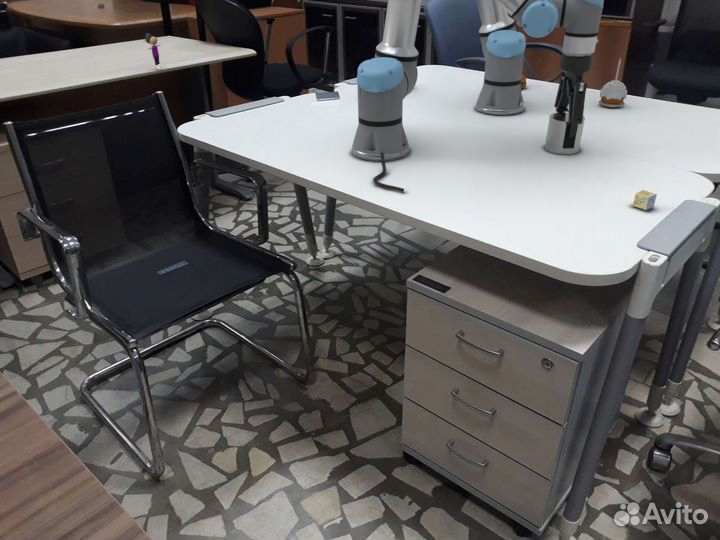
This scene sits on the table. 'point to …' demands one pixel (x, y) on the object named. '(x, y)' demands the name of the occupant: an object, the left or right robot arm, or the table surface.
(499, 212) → the table surface
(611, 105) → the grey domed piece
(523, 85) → the burger
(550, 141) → the can
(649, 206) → the alphabet block
